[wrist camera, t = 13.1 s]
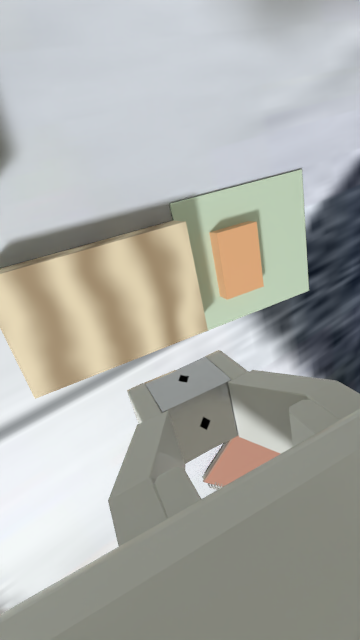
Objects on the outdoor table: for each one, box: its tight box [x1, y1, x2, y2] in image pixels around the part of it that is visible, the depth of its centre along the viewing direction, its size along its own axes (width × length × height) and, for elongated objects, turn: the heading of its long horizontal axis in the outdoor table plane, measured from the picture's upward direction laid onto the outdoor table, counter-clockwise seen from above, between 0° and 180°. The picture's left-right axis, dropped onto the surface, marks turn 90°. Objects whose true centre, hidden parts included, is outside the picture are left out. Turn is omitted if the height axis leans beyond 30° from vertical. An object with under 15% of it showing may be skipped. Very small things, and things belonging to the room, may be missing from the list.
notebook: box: [203, 436, 280, 490], centre depth 61 cm, size 27×17×2 cm, turn 55°
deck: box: [0, 221, 208, 399], centre depth 38 cm, size 22×14×4 cm, turn 103°
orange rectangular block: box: [209, 221, 264, 300], centre depth 44 cm, size 6×9×2 cm, turn 13°
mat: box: [170, 169, 309, 333], centre depth 45 cm, size 20×18×1 cm
